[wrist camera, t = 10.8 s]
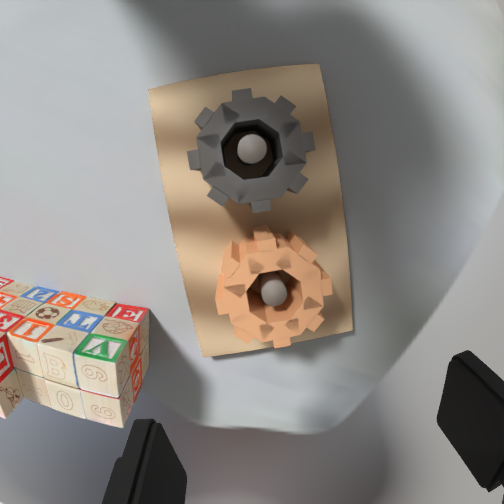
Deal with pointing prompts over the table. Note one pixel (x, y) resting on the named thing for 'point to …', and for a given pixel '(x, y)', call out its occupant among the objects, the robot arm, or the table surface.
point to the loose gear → (298, 286)
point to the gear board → (238, 219)
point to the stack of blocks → (71, 352)
